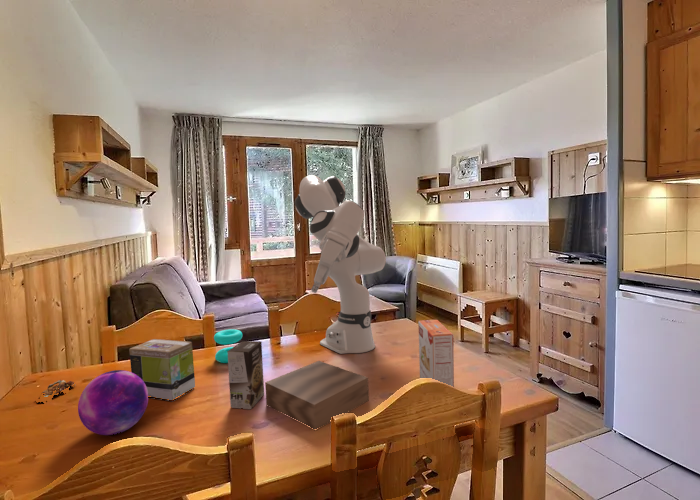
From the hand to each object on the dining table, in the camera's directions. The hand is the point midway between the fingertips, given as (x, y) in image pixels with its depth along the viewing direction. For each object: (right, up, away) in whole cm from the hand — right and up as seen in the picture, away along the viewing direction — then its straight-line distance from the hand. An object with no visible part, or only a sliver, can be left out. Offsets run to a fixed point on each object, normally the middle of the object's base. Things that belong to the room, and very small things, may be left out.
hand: (314, 287), depth 116 cm
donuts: (-34, -29, +32) cm, 55 cm away
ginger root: (-79, -34, +7) cm, 87 cm away
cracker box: (+34, -31, -4) cm, 46 cm away
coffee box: (-19, -32, -1) cm, 37 cm away
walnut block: (+1, -32, -4) cm, 32 cm away
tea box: (-46, -32, +6) cm, 57 cm away
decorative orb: (-48, -35, -15) cm, 61 cm away
